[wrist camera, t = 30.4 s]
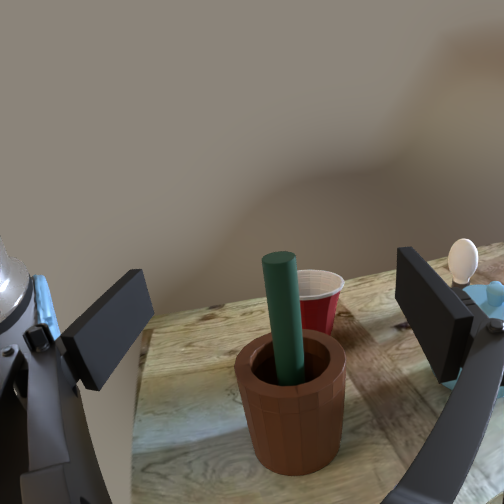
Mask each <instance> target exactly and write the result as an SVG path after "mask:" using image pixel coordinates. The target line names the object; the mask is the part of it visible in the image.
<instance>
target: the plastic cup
mask: <svg viewBox="0 0 504 504" xmlns="http://www.w3.org/2000/svg"><path fill="white" fill-rule="evenodd" d="M297 275H298V286H299V298H300V310H301V323H302V329H308V330H315V331H318V332H321V333H325V334H327V335H329V336H331V332H332V328H333V323H334V317H335V311H336V306H337V301H338V297H339V294H340V291H341V289H342V287H343V285H344V280H343V278H342V277H341V276H339V275H337V274H335V273H332V272H327V271H323V270H300V271H297Z"/></svg>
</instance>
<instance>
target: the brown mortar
mask: <svg viewBox="0 0 504 504" xmlns="http://www.w3.org/2000/svg"><path fill="white" fill-rule="evenodd" d="M302 336H303V351H304V367H305V383H304V384H300V385H297V386H278V380H277V372H276V364H275V356H274V349H273V341H272V334H271V333H269V334H266V335H263V336H261V337H259V338H256V339H254V340H253V341H252V342H250V343H249V344H247V345H246V346H245V347H244V348H243V349H242V350H241V351H240V353H239V354H238V355H237V358H236V362H235V365H234V369H235V373H236V378H237V382H238V386H239V391H240V395H241V399H242V403H243V407H244V412H245V416H246V420H247V424H248V428H249V432H250V436H251V440H252V444H253V448H254V451H255V455H256V457H257V459H258V460H259V461H260V463H261V464H262V465H263V466H265V467H266V468H267V469H269V470H271V471H273V472H275V473H278V474H282V475H288V476H300V475H306V474H310V473H313V472H316V471H318V470H320V469H322V468H323V467H325V466H326V465H327V464H329V463H330V462H331V461H332V460H333V459H334V457H335V456H336V454H337V452H338V450H339V447H340V442H341V436H342V425H343V412H344V397H345V379H346V356H345V351H344V349H343V347H342V346H341V345H340V344H339V342H338V341H337V340H336V339H334V338H332V337H331V336H329V335H327V334H325V333H321V332H318V331H315V330H308V329H302Z"/></svg>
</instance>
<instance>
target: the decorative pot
mask: <svg viewBox="0 0 504 504" xmlns="http://www.w3.org/2000/svg"><path fill="white" fill-rule="evenodd" d="M463 291H465V292H466V293H467V294H468V295H469V296H470V297H471V299H473V300H474V301H475V302H476V304H477V305H478V306H479V307H480V308H481V309H482V310H483V311H484V313H485V314H486V315H487V316H488V317H489V318H498V319H501V320H504V286H503V285H502V284H501V283H500V282H498V281H492V282H490V284H489V285H470V286H467V287H465V288H464V289H463ZM430 367H431V366H430ZM431 369H432V368H431ZM432 371H433V370H432ZM461 371H462V368H460V371H459V375H460V373H461ZM433 373H434V372H433ZM434 375H435V374H434ZM459 375H458V378H459ZM435 377H436V376H435ZM458 378H457V380H458ZM457 380H453V381H449V382H445V383H441V384H442V385H444V386H445V387H447V388H449V389H451V390H453V389H454V386H455V384H456V382H457ZM500 397H504V386H500V388H499V392H498V395H497V398H500Z"/></svg>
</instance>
